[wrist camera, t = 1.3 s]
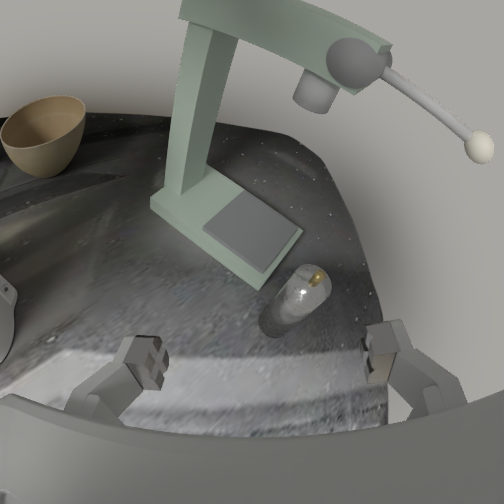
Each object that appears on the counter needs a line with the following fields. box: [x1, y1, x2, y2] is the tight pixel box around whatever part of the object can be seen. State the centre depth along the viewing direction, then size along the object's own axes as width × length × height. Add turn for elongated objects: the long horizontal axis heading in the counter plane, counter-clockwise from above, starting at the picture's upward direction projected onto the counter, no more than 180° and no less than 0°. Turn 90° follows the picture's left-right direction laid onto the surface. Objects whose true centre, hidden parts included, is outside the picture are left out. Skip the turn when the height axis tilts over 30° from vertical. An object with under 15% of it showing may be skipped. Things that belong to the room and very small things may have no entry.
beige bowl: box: [0, 95, 86, 178], centre depth 46 cm, size 18×18×12 cm
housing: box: [259, 264, 332, 338], centre depth 40 cm, size 5×5×16 cm
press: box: [150, 0, 495, 291], centre depth 38 cm, size 38×14×39 cm, turn 56°
